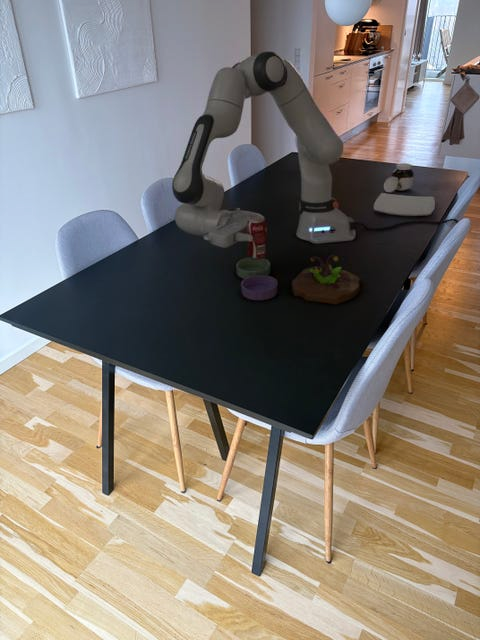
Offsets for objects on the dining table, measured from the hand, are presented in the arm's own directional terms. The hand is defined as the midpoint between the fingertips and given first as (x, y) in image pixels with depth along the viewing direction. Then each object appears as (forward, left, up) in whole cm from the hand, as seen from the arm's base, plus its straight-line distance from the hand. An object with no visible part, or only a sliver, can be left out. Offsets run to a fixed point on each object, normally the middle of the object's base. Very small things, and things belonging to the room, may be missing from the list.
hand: (259, 234), depth 137 cm
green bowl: (+3, -13, -19) cm, 23 cm away
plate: (-58, -74, -19) cm, 96 cm away
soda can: (+1, 0, -7) cm, 7 cm away
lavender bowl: (0, 0, -19) cm, 19 cm away
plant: (-20, -2, -19) cm, 28 cm away
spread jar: (-61, -99, -19) cm, 118 cm away
